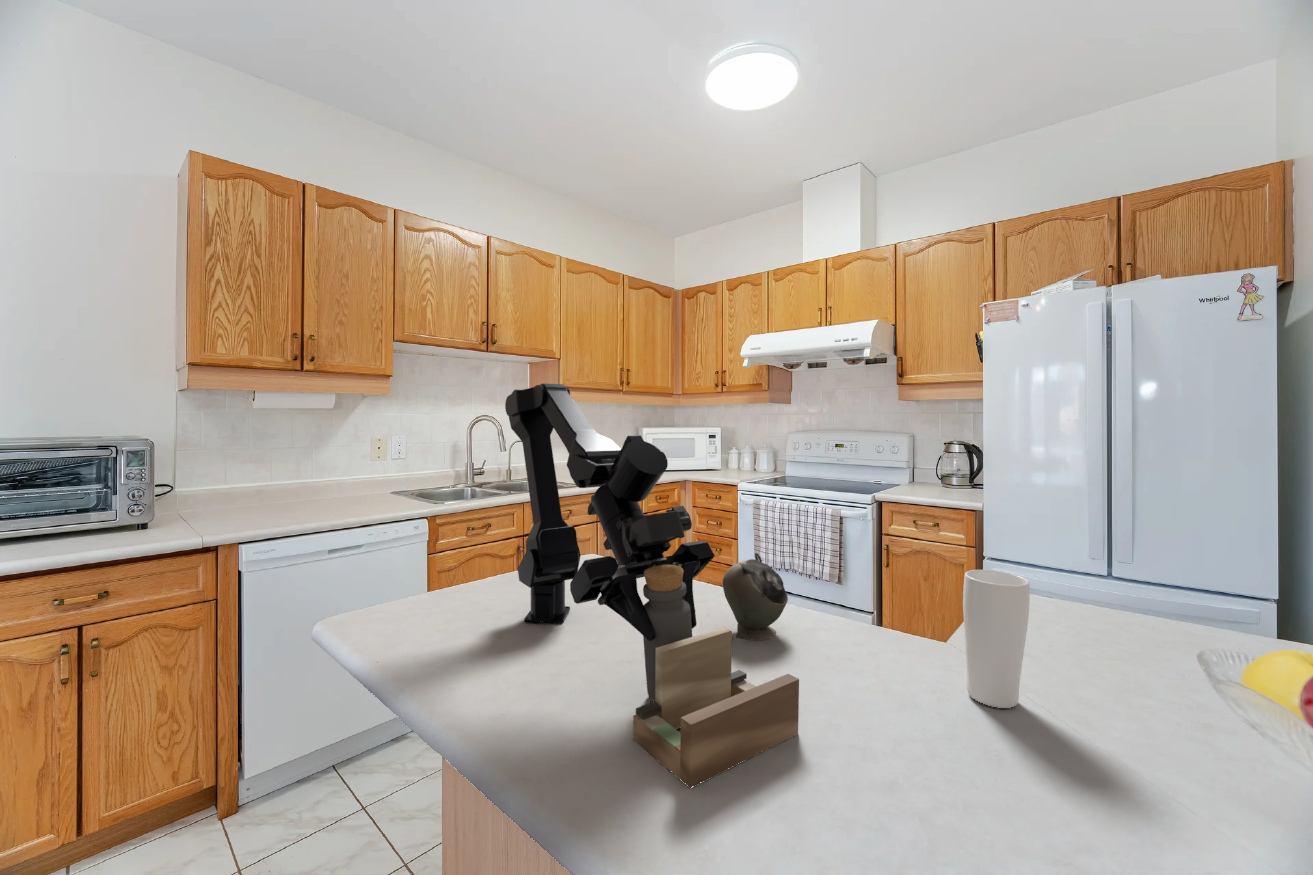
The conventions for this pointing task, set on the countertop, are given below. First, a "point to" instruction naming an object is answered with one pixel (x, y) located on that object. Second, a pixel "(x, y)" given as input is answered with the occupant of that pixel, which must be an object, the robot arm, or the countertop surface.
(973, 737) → the countertop surface
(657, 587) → the bottle
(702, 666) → the wooden flat panel
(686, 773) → the wooden rack
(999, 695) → the drinking glass
